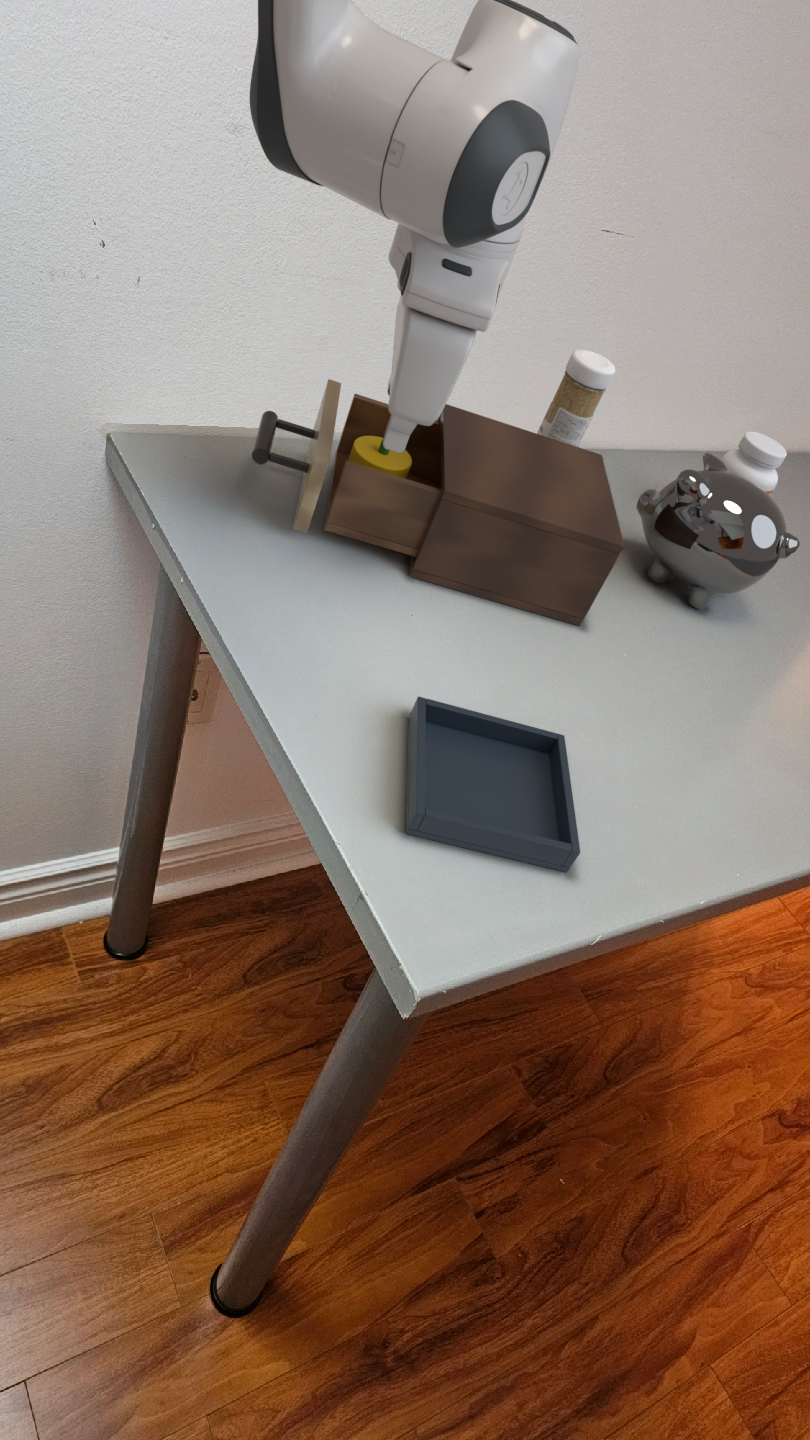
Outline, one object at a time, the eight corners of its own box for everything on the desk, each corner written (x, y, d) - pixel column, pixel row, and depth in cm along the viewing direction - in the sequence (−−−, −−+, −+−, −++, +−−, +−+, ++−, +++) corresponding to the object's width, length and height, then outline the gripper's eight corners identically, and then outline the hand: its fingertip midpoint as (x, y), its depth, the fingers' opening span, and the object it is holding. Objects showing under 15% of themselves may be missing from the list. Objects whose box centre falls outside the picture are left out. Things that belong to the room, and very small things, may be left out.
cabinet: (409, 576, 89) (444, 490, 83) (412, 484, 100) (443, 402, 95) (580, 626, 92) (624, 546, 86) (563, 530, 103) (602, 454, 98)
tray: (405, 833, 67) (416, 812, 66) (408, 716, 75) (417, 695, 74) (567, 872, 69) (580, 852, 68) (552, 754, 78) (564, 734, 76)
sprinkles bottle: (524, 461, 112) (578, 342, 103) (563, 479, 111) (620, 362, 103) (514, 477, 108) (569, 356, 100) (555, 496, 108) (613, 376, 99)
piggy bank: (636, 524, 109) (690, 426, 102) (762, 602, 106) (828, 506, 99) (594, 559, 101) (650, 455, 94) (730, 644, 98) (799, 543, 90)
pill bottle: (736, 558, 111) (794, 468, 104) (682, 533, 111) (737, 441, 104) (738, 532, 116) (794, 445, 109) (687, 509, 116) (740, 420, 109)
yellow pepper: (337, 500, 90) (355, 447, 86) (342, 470, 94) (358, 418, 90) (396, 517, 91) (415, 466, 87) (397, 487, 95) (416, 436, 91)
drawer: (236, 512, 85) (255, 439, 81) (258, 430, 96) (276, 361, 92) (459, 577, 89) (488, 511, 85) (456, 491, 100) (482, 428, 96)
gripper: (413, 199, 86) (364, 356, 95) (407, 290, 71) (350, 468, 79) (485, 225, 87) (431, 378, 96) (495, 320, 72) (429, 492, 81)
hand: (394, 419), depth 88 cm, fingers open, 8 cm apart
